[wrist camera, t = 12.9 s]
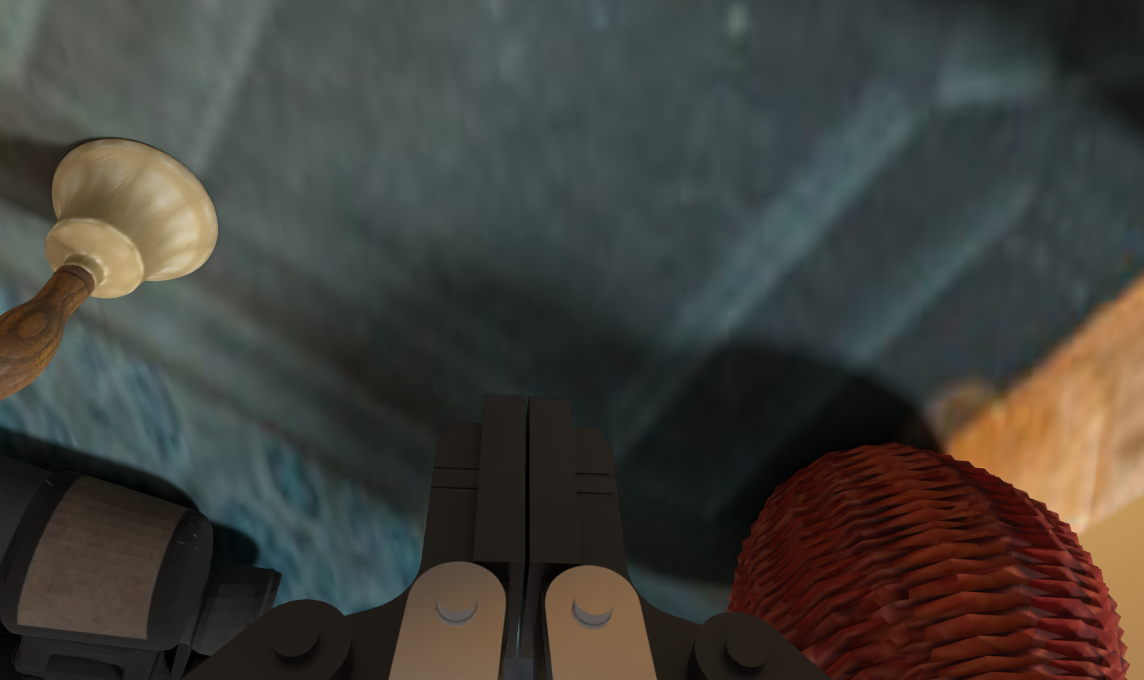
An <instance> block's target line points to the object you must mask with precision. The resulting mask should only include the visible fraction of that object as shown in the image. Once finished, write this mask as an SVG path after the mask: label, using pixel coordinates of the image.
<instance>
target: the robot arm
mask: <svg viewBox="0 0 1144 680" xmlns="http://www.w3.org/2000/svg"><path fill="white" fill-rule="evenodd" d="M518 623H519V658H533V680H832V679H831V678H829V677H828V676H827V675H826V674H825V673H824V672H823V671H822V670H820V669H819V668H818V667H817V666H816V665H815V664H814V663H813V662H811V661H810V660H809V659H808V658H807V657H806V656H805V655H804V654H802V653H801V652H800V651H799V650H798V649H797V648H796V647H795V646H793V645H792V644H791V643H790V642H789V641H788V640H787V639H786V638H785V637H783V636H782V635H781V634H780V633H779V632H778V631H777V630H776V629H774V628H773V627H772V626H771V625H769V624H768V623H766V622H765V621H763V620H761V619H759V618H757V617H755V616H752V615H749V614H746V613H740V612H726V613H720V614H718V615H715V616H713V617H711V618H710V619H708V620H707V621H706V622H705V623H704V624H703V625H700V624H697V623H694V622H691V621H688V620H685V619H682V618H679V617H676V616H673V615H670V614H668V613H665V612H663V611H661V610H659V609H657V608H655V607H654V606H653V605H651V604H650V603H648V602H647V601H646V600H645V599H644V598H643V597H642V596H641V595H640V594H639V593H638V591H637V590H636V589H635V587H634V585H633V584H632V582H631V580H630V577H629V575H628V570H627V564H626V556H625V547H624V539H623V531H622V523H621V515H620V507H619V499H618V491H617V482H616V479H615V466H614V458H613V450H612V449H611V447H610V446H609V444H608V443H607V441H606V440H605V438H604V437H603V435H602V434H601V432H600V431H599V429H589V428H572V417H571V403H570V399H569V398H555V397H535V396H529V398H528V405H527V416H526V397H525V396H512V395H492V394H485V395H484V409H483V423H482V424H479V423H457V422H452V423H451V425H450V426H449V427H448V429H447V430H446V431H445V433H444V434H443V435H442V437H441V438H440V440H439V441H438V442H437V448H436V455H435V463H434V471H433V477H432V485H431V492H430V500H429V507H428V515H427V522H426V530H425V537H424V545H423V552H422V560H421V565H420V569H419V571H418V574H417V576H416V578H415V579H414V581H413V582H412V584H411V585H410V586H409V587H408V588H407V589H406V590H405V591H404V592H403V593H402V594H401V595H400V596H398V597H397V598H395V599H393V600H392V601H390V602H388V603H386V604H384V605H381V606H378V607H375V608H372V609H369V610H365V611H361V612H357V613H354V614H350V615H346V616H344V615H343V614H342V613H341V612H340V611H339V610H338V609H337V608H335V607H333V606H332V605H330V604H328V603H325V602H322V601H318V600H309V599H305V600H295V601H291V602H287V603H284V604H281V605H279V606H277V607H275V608H273V609H271V610H269V611H268V612H266V613H265V614H263V615H262V616H261V617H259V618H258V619H257V620H256V621H254V622H253V623H252V624H251V625H249V626H248V627H247V628H246V629H244V630H243V631H242V632H240V633H239V634H238V635H237V636H235V637H234V638H233V639H232V640H230V641H229V642H228V643H227V644H225V645H224V646H223V647H221V648H220V649H219V650H218V651H216V652H215V653H214V654H213V655H211V656H210V657H209V658H207V659H206V660H205V661H204V662H202V663H201V664H200V665H199V666H197V667H196V668H195V669H194V670H192V671H191V672H190V673H188V674H187V675H186V676H185V677H183V678H182V679H181V680H504V669H505V659H506V658H515V651H516V642H517V633H518Z"/></svg>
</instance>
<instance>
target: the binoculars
mask: <svg viewBox="0 0 1144 680" xmlns="http://www.w3.org/2000/svg"><path fill="white" fill-rule="evenodd" d="M212 550H213V529H212V525H211V522H210V521H209V520H208V518H207V517H206V516H205V515H204V514H202V513H200V512H199V511H196V510H193V509H189V508H186V507H183V506H180V505H177V504H174V503H171V502H168V501H165V500H162V499H159V498H156V497H153V496H149V495H146V494H143V493H140V492H137V491H134V490H131V489H128V488H125V487H122V486H119V485H116V484H113V483H110V482H106V481H103V480H100V479H97V478H94V477H91V476H88V475H85V474H82V473H79V472H76V471H65V472H60V473H57V474H56V473H53V472H51V471H48V470H45V469H42V468H39V467H36V466H34V465H31V464H28V463H25V462H22V461H20V460H17V459H14V458H9V457H4V456H0V619H1V621H2V623H3V624H4V626H5V627H6V628H7V629H8V630H9V631H10V632H11V633H14V634H20V637H19V639H18V641H14V640H11V639H6V638H0V680H181V679H182V678H183V677H185V676H186V675H187V674H188V673H190V672H191V671H192V670H194V669H195V668H196V667H197V666H199V665H200V664H201V663H202V662H204V661H205V660H206V659H207V658H209V657H210V656H211V655H213V654H214V653H215V652H216V651H218V650H219V649H220V648H221V647H223V646H224V645H225V644H227V643H228V642H229V641H230V640H232V639H233V638H234V637H235V636H237V635H238V634H239V633H240V632H242V631H243V630H244V629H246V628H247V627H248V626H249V625H251V624H252V623H253V622H254V621H256V620H257V619H258V618H259V617H261V616H262V615H263V614H265V613H266V612H268V611H269V610H271V609H272V608H273V604H274V601H275V598H276V595H277V591H278V588H279V585H280V581H281V578H282V573H280V572H277V571H275V570H274V569H263V568H258V567H252V566H247V565H241V564H236V563H230V562H229V563H223V564H220V565H219V566H217V565H211V564H212ZM192 649H193V650H195V652H193V653H192V654H191V652H192Z"/></svg>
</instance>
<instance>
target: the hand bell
mask: <svg viewBox="0 0 1144 680" xmlns="http://www.w3.org/2000/svg"><path fill="white" fill-rule="evenodd" d="M52 200H53V207H54V210H55V213H56V216H57V219H58V220H57V222H56V223H55V225H54V226H53V227H52V229H51V230H50V231H49V233H48V235H47V239H46V244H45V251H46V256H47V259H48V261H49V264H50V266H51V267H52V269H53V271H54V272H55V273H54V274H53V276H52V277H51V278H50V279H49V281H48V282H47V283H46V284H45V286H44V287H43V288H42V289H41V290H40V292H39V293H38V294H37V295H36V296H35V297H34V298H33V299H31V300H29V301H28V302H26V303H24V304H21V305H19V306H17V307H15V308H12V309H11V310H9V311H7V312H5V313H4V314H2V315H1V316H0V401H1V400H2V399H4V398H6V397H8V396H10V395H12V394H14V393H16V392H18V391H19V390H21V389H23V388H24V387H26V386H27V385H29V384H30V383H31V382H32V381H33V380H35V379H36V378H37V377H38V375H39V374H40V373H41V372H42V371H43V370H44V369H45V367H46V366H47V365H48V364H49V362H50V361H51V359H52V358H53V356H54V354H55V353H56V351H57V349H58V347H59V344H60V342H61V339H62V336H63V331H64V327H65V323H66V321H67V319H68V318H69V316H70V315H71V314H72V313H73V312H74V311H75V310H76V309H77V308H78V307H79V306H80V304H81V303H82V302H83V301H84V300H85V299H86V298H87V297H89V296H93V297H99V298H116V297H120V296H124V295H126V294H129V293H131V292H132V291H133V290H135V289H136V288H137V287H138V286H139V285H140V284H141V283H142V282H143V281H145V280H148V281H160V280H169V279H174V278H179V277H182V276H185V275H187V274H189V273H191V272H193V271H195V270H196V269H198V268H199V267H200V266H201V265H202V264H203V263H204V262H205V261H206V260H207V259H208V258H209V257H210V255H211V253H212V251H213V249H214V247H215V244H216V240H217V236H218V222H217V216H216V212H215V209H214V206H213V203H212V201H211V199H210V197H209V195H208V194H207V192H206V190H205V189H204V187H203V186H202V184H201V183H200V182H199V180H198V179H197V178H196V177H195V176H194V175H193V174H192V173H191V172H190V171H189V170H188V169H187V168H186V167H185V166H183V165H182V164H181V163H180V162H179V161H177V160H176V159H174V158H173V157H171V156H169V155H168V154H166V153H164V152H162V151H160V150H158V149H156V148H153V147H151V146H148V145H146V144H142V143H139V142H136V141H130V140H126V139H119V138H114V139H100V140H95V141H91V142H88V143H85V144H83V145H80V146H78V147H76V148H75V149H73V150H72V151H70V152H69V153H68V154H67V155H66V156H65V157H64V158H63V159H62V161H61V162H60V164H59V165H58V167H57V169H56V172H55V175H54V178H53V183H52Z"/></svg>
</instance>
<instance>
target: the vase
mask: <svg viewBox="0 0 1144 680" xmlns="http://www.w3.org/2000/svg"><path fill="white" fill-rule="evenodd" d="M742 550H743V551H742V552H741V554H740V555H739V556H738V567H737V568H736V569H735V570H734V573H735V580H734V584H733V585H732V586H731V588H732V591H731V594H730V597H729V598H730V600H731V602H730V605H729V607H728V610H727V612H740V613H746V614H749V615H752V616H755V617H757V618H759V619H761V620H763V621H765V622H766V623H768V624H769V625H771V626H772V627H773V628H774V629H776V630H777V631H778V632H779V633H780V634H781V635H782V636H783V637H785V638H786V639H787V640H788V641H789V642H790V643H791V644H792V645H793V646H795V647H796V648H797V649H798V650H799V651H800V652H801V653H802V654H804V655H805V656H806V657H807V658H808V659H809V660H810V661H811V662H813V663H814V664H815V665H816V666H817V667H818V668H819V669H820V670H822V671H823V672H824V673H825V674H826V675H827V676H828V677H829V678H831V679H832V680H1127V679H1126V678H1125V675H1126V672H1127V670H1128V668H1129V666H1130V664H1129V663H1128V662H1127V661H1126V660H1125V659H1123V657H1124V654H1125V652H1126V650H1127V646H1126V645H1125V644H1124V643H1123V642H1122V641H1121V638H1122V636H1123V633H1124V631H1123V630H1122V629H1121V628H1120V627H1119V626H1118V624H1119V621H1120V618H1121V616H1120V615H1119V614H1118V613H1116V612H1115V609H1116V607H1117V603H1116V602H1115V601H1114V600H1113V599H1112V598H1111V596H1110V595H1109V594H1108V591H1109V588H1107V586H1106V584H1105V583H1103V577H1102V572H1101V569H1099V568H1098V567H1097V566H1094V565H1093V563H1092V558H1091V554H1090V553H1089V552H1086V551H1083V548H1082V546H1080V545H1079V541H1078V537H1077V533H1074V532H1071V528H1070V524H1068V523H1065V522H1062V521H1060V519H1059V515H1058V514H1057V513H1055V512H1052V511H1049V510H1047V507H1046V504H1045V503H1042V502H1039V501H1036V500H1034V499H1031V498H1029V496H1028V494H1027V492H1024V491H1021V490H1019V489H1016V488H1014V487H1013V485H1012V484H1009V483H1006V482H1004V481H1002V480H1001V479H1000V478H999V477H995V476H994V475H991V474H989V473H988V472H987V471H986V470H985V469H983V468H975V467H974V466H973V465H972V464H971V463H970V462H969V461H958V460H955V459H954V458H953V457H952V456H951V455H942V454H934V453H933V452H932V451H931V450H922V449H918V448H915V447H912V446H909V445H902V444H899V443H896V442H890V443H884V444H878V445H872V446H871V445H864V446H861V447H859V448H853V449H847V450H841V451H835V452H829V453H826V454H825V455H823V456H822V457H820V458H819V459H817V460H816V461H814V462H813V463H811V464H810V465H808V466H807V467H805V468H803V469H800V470H798V471H797V472H796V473H795V474H794V475H793V476H792V477H790V478H789V479H787V480H786V481H784V482H783V483H781V484H780V485H778V486H777V487H775V489H774V491H773V494H772V496H771V497H769V498H768V499H767V501H766V504H765V506H764V509H763V510H762V511H760V513H759V518H758V519H757V520H756V521H755V522H754V523H753V524H752V525H751V536H749V537H748V538H747V539H745V540H744V541H743V542H742Z"/></svg>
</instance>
